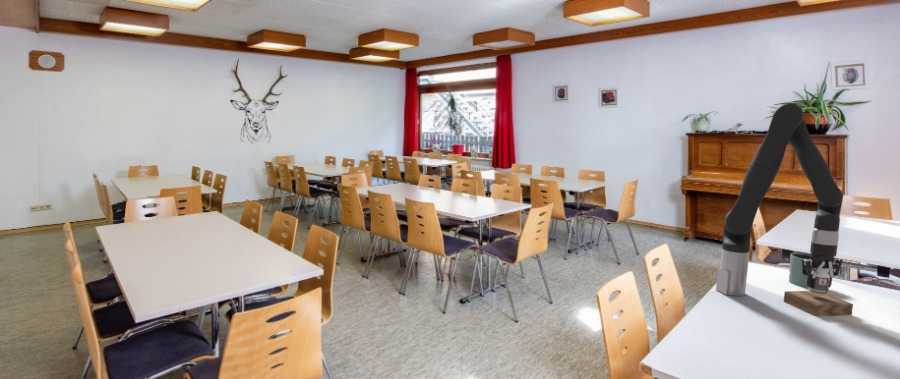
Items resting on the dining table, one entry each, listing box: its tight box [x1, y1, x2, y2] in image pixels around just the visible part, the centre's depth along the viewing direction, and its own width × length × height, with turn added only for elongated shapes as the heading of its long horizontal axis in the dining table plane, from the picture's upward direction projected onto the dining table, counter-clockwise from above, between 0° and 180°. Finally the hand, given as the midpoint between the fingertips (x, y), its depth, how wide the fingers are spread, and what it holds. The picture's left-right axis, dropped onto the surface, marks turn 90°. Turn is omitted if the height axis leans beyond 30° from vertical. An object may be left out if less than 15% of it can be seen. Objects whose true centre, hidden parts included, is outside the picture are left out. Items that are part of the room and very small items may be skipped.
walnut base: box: [783, 290, 854, 317], centre depth 175 cm, size 14×14×4 cm
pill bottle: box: [808, 267, 830, 296], centre depth 174 cm, size 6×6×10 cm
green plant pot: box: [788, 252, 811, 288], centre depth 202 cm, size 10×10×12 cm
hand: (818, 287), depth 174 cm, fingers closed on pill bottle, 5 cm apart
